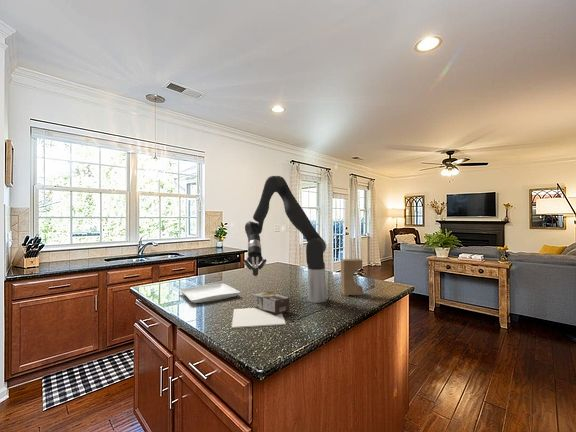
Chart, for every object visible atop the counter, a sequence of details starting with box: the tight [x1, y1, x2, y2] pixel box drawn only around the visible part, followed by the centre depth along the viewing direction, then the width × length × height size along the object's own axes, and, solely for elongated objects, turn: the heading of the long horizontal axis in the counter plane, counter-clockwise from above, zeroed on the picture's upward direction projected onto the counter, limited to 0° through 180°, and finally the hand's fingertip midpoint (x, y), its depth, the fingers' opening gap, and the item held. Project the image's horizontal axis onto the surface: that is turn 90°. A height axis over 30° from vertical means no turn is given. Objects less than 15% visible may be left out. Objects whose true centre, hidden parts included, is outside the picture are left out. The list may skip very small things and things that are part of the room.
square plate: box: [178, 283, 241, 304], centre depth 157 cm, size 27×27×4 cm
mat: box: [231, 307, 287, 329], centre depth 124 cm, size 22×22×1 cm
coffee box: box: [253, 291, 290, 315], centre depth 132 cm, size 9×6×16 cm
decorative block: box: [340, 258, 364, 297], centre depth 159 cm, size 11×6×20 cm, turn 99°
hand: (255, 275), depth 145 cm, fingers closed
